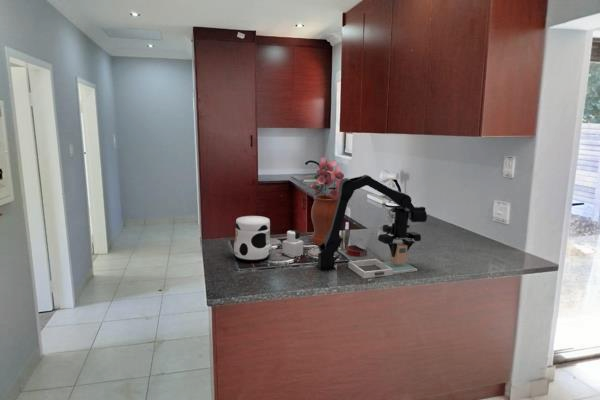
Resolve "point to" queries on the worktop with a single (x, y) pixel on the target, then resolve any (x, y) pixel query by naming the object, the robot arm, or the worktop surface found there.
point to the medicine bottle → (293, 243)
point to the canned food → (356, 249)
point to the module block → (399, 254)
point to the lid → (400, 267)
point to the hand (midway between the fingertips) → (398, 256)
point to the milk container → (252, 238)
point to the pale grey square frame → (368, 274)
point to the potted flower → (325, 200)
